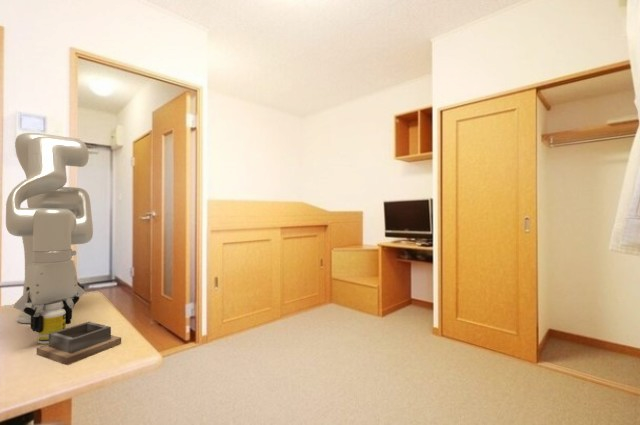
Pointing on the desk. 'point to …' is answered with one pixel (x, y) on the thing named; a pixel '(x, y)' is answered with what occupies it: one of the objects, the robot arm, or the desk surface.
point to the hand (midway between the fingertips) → (52, 326)
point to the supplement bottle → (52, 320)
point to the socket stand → (78, 342)
